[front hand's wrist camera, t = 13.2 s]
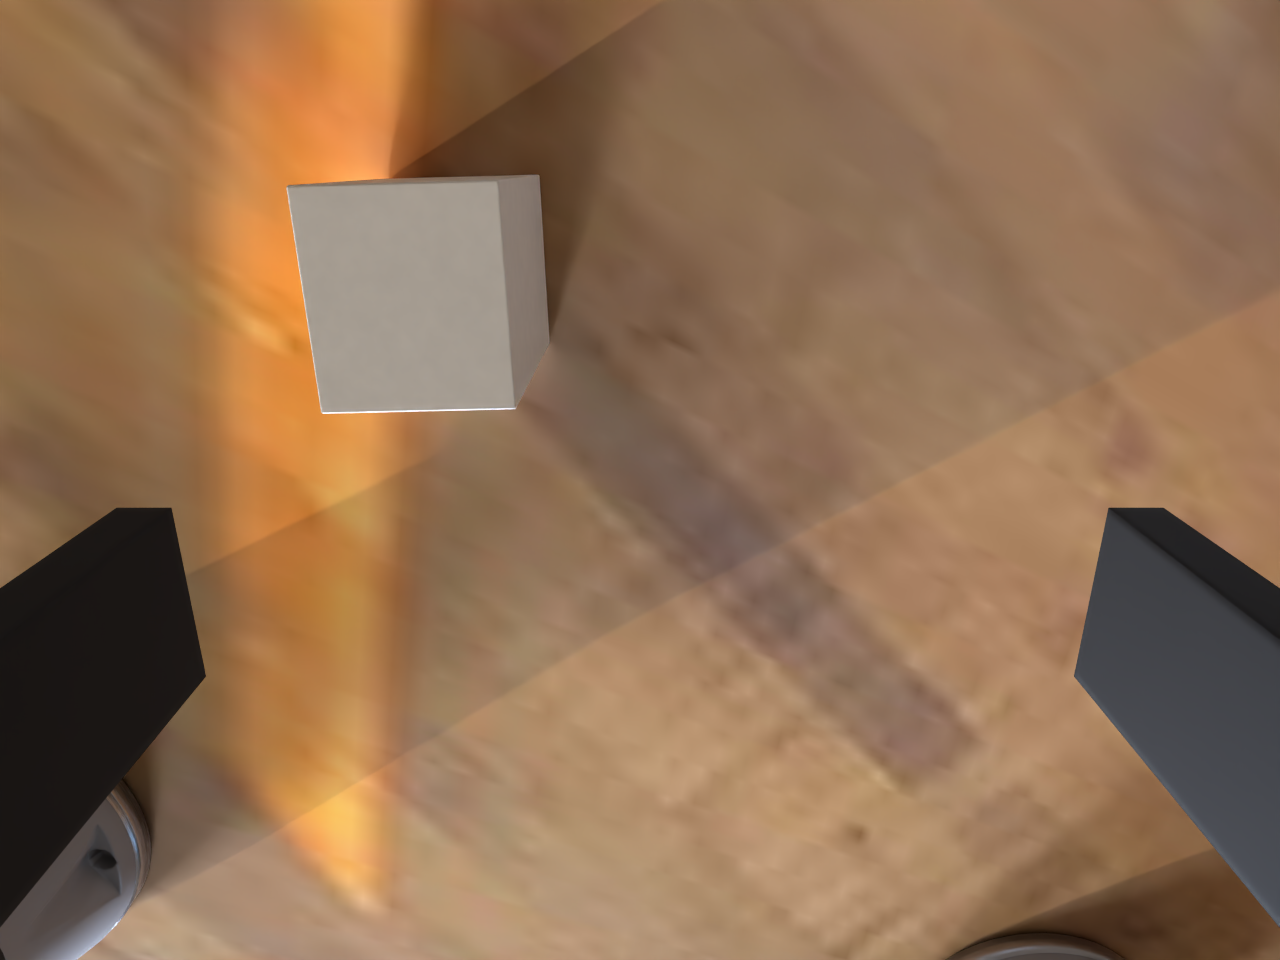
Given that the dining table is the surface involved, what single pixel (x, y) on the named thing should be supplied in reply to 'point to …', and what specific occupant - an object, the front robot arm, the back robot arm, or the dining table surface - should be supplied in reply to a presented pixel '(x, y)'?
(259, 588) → the dining table surface
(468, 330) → the block
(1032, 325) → the dining table surface
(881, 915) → the dining table surface
